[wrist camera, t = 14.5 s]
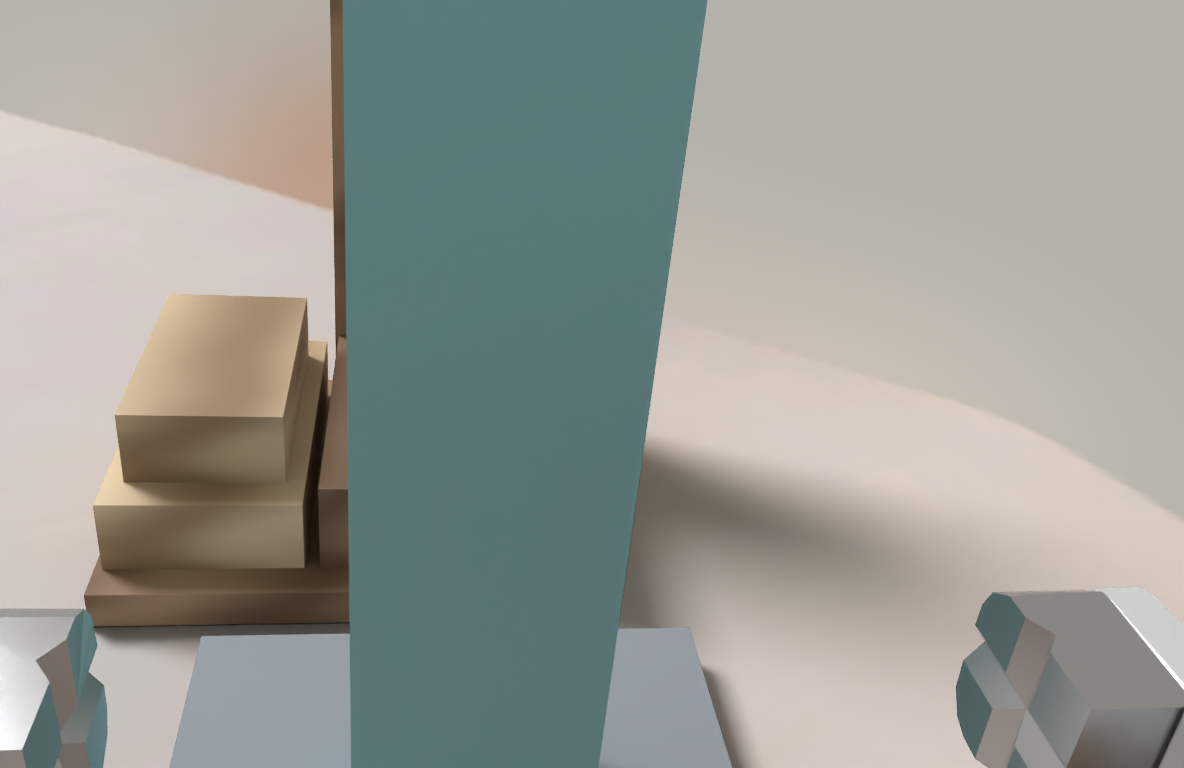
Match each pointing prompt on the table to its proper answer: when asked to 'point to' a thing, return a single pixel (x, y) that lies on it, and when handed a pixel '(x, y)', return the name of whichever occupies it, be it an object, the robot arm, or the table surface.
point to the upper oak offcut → (216, 391)
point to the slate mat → (323, 719)
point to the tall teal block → (501, 359)
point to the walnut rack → (326, 571)
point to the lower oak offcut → (219, 506)
